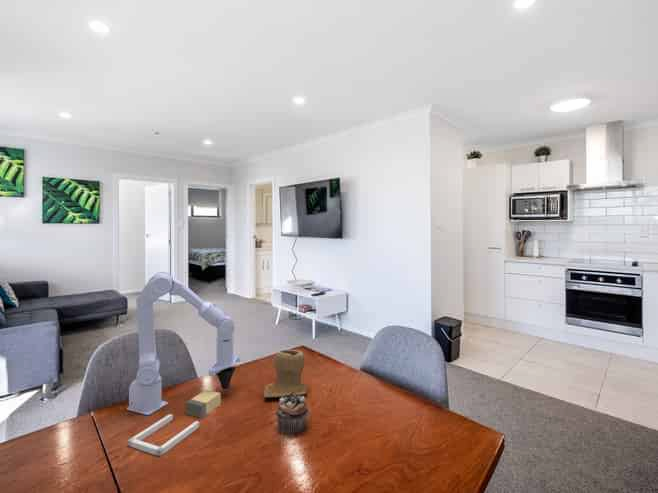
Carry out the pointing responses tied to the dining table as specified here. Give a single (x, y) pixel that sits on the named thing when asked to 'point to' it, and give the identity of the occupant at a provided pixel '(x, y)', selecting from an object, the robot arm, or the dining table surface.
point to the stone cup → (287, 374)
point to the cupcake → (292, 414)
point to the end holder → (159, 451)
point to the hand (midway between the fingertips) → (225, 388)
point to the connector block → (203, 403)
